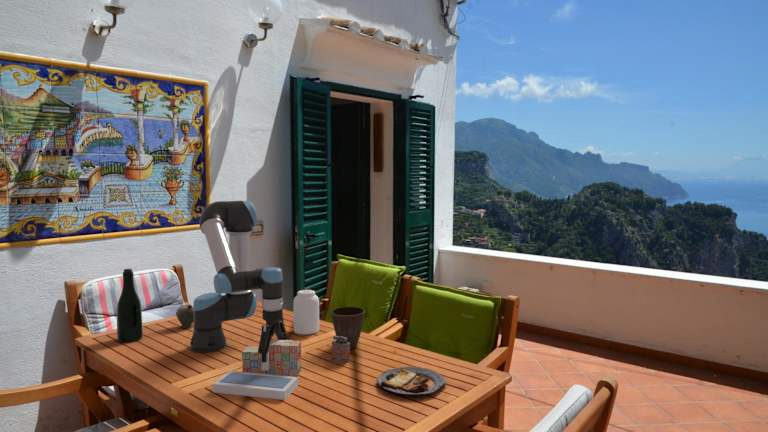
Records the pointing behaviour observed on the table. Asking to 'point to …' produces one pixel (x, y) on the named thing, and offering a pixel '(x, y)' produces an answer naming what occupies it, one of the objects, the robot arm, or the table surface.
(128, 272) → the beer bottle
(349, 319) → the plant pot
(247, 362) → the stack of blocks
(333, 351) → the lighter
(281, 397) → the base board
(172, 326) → the table surface
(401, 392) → the food plate
